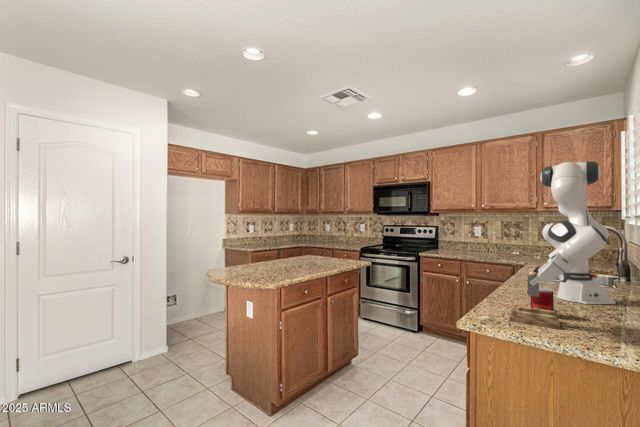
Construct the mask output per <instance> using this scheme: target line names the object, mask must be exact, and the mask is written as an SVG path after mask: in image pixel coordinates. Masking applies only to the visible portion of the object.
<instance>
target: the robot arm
mask: <svg viewBox="0 0 640 427" xmlns="http://www.w3.org/2000/svg"><path fill="white" fill-rule="evenodd" d="M601 176H602V169H601V167H600V165H599V163H597V161H588V160H587V161H575V162H573V161H566V162H565V161H564V162H562V163H559V164H556V165H548V166H545V167H544V168H543V169H541V172H540V178H539V179H540V182H541V183H542V185H543V186H544V187H545V188H546V187H548V188H550V190H551V191H550V192H551V196H552V198H553V199H554V201H555V202H556V203H557V209H558V212H559V213H560V214H561V215H563V216H565V217H567V218H568V220H558V221H556V222H554V223H553V222H552V223H547V224H545V225H544V227H543V228H542V231H541V233H542V237H543V239H544V240H545V241H546V242H548V243H549V244H550V245H551V246H552V247H554V250H553V251H552V252H550V253H549V254H547V256H548V257H549V258H548V259H547V262H545V263H544V264H543V265H541V266H540V267H539V268H538V271H537V275H538V276H537V277H536V278H534V279H533V280H532V281H530V284H531V285H533V286H534V285H536V284H537V283H539V284H540V283H541V282H543V283H544V284H545V283H548V282H549V283H550V282H551V281H553V280H555V279H556V278H558V277H559V278H558V280H559V286H558V291H557V295H556V298H558V299H560V300H564V301H568V302H574V303H579V304H583V305H616V300H614V299H612V298H610V296H609V292H608V289H606V288H605V287H603V286H602V285H601V284H599V283H598V282H596V281H595V280H593V279H597V278H599V275H598V274H597V273H596V274H595V273H591V272H589V259H590V258H592V257H593V256H595V255H596V254H597V253H599V252H600V251H601V250H602V249H604V247H606V246H607V243H608V238H609V236H610V235H609V230H608V228H607V227H606V226H605V225H604V224H602V223H600V222H598V221H597V220H596V219H594V218H593V217H592V216H591V214H590V212H589V209H588V202H587V190H586V185H587V186H591V184H593V185H594V184H595V183H597V182H598V181H599V180H600V178H601Z"/></svg>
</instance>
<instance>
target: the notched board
mask: <svg viewBox="0 0 640 427" xmlns="http://www.w3.org/2000/svg"><path fill="white" fill-rule="evenodd" d="M509 322H514V323H520V324H525V325H533V326H537V327H541V328H542V327H544V328H549V329H554V330H560V329H561V326H560V318H559V316H558V317H557V316H556V311H549V310H542V309H535V308H531V307H526V306H520V305H513V308H512V310H511V312H510V314H509Z"/></svg>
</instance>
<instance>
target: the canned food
mask: <svg viewBox="0 0 640 427" xmlns="http://www.w3.org/2000/svg"><path fill="white" fill-rule="evenodd" d="M554 298H555V297H554V289H553V288H548V287H545V286H543V287H542V286H539V297H537V296H530V308H535V309H542V310H549V311H554V310H555V309H554V304H555V303H554V301H555V300H554Z"/></svg>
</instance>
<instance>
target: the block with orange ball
mask: <svg viewBox="0 0 640 427" xmlns="http://www.w3.org/2000/svg"><path fill="white" fill-rule="evenodd" d="M537 274H538V272H535V271H529V273H528V274H527V296H529V297H531V296H537V297H539V287H540V282H539V283H537V284H536V285H534V286H533V285H531V284H530V281H532V280H533V279H534V278H536V277H537V276H538V275H537Z"/></svg>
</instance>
